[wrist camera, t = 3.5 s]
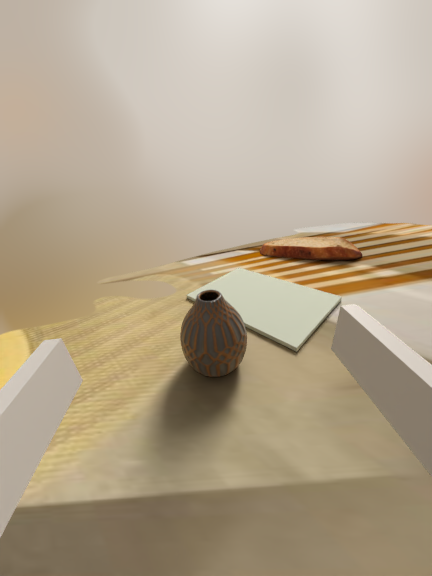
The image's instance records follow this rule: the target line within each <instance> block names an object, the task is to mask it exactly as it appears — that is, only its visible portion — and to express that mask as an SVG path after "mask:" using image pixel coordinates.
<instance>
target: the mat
mask: <svg viewBox="0 0 432 576" xmlns="http://www.w3.org/2000/svg"><path fill="white" fill-rule="evenodd" d="M205 290H217V291H219V292H220V293H221V294H222V296H223V297H224V299H225V300H226V301H227V302H228V303H229V304H230V305H232V306H233V307H234V308H235V309H236V310H237V311H238V313H239V314H240V316H241V317H242V320H243V322H244V325H245V327H247V328H249V329H251V330H253V331H255V332H257V333H259V334H261V335H263V336H265V337H267V338H269V339H272V340H274V341H276V342H278V343H280V344H282V345H284V346H286V347H288V348H290V349H292V350H294V351H296V352H297V351H298V350H299V348H300V347H301V346H302V345H303V344H304V343H305V341H306V340H307V339H308V338H309V337H310V336H311V334H312V333H313V332H314V331H315V330H316V329H317V328H318V326H319V325H320V324H321V323H322V322H323V321H324V319H325V318H326V317H327V316H328V315H329V314H330V312H331V311H332V310H333V309H334V308H335V307H336V305H337V304H338V303H339V302H340V301H341V298H342V297H340V296H337V295H333V294H330V293H326V292H323V291H319V290H316V289H312V288H309V287H305V286H302V285H298V284H295V283H291V282H288V281H284V280H281V279H277V278H273V277H270V276H266V275H263V274H259V273H256V272H252V271H249V270H245V269H242V268H237V269H235V270H233V271H231V272H230V273H228V274H226V275H224V276H222V277H220V278H218V279H216V280H214V281H212V282H210V283H209V284H207V285H205V286H203V287H201V288H199V289H197V290H195V291H193V292H191V293H189V294H187V298H188V299H190V300H192V301H194V302H195V300H196V297H197V295H198V294H199V293H200V292H202V291H205Z"/></svg>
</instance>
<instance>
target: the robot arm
mask: <svg viewBox="0 0 432 576" xmlns="http://www.w3.org/2000/svg"><path fill="white" fill-rule="evenodd" d="M331 349H332V350H333V352H334V353H335V354H336V356H337V357H338V358H339V359H340V361H341V362H342V363H343V364H344V366H345V367H346V368H347V370H348V371H349V372H350V373H351V375H352V376H353V377H354V378H355V380H356V381H357V382H358V384H359V385H360V386H361V387H362V389H363V390H364V391H365V392H366V394H367V395H368V396H369V398H370V399H371V400H372V401H373V403H374V404H375V405H376V406H377V408H378V409H379V410H380V412H381V413H382V414H383V415H384V417H385V418H386V419H387V420H388V422H389V423H390V424H391V426H392V427H393V428H394V429H395V431H396V432H397V433H398V434H399V436H400V437H401V438H402V440H403V441H404V442H405V443H406V445H407V446H408V447H409V448H410V450H411V451H412V452H413V453H414V455H415V456H416V457H417V459H418V460H419V461H420V462H421V464H422V465H423V466H424V467H425V469H426V470H427V471H428V473H429V474H430V475H431V476H432V365H431V364H430V363H429V362H427V361H426V360H425V359H424V358H423V357H421V356H420V355H419V354H418V353H416V352H415V351H414V350H413V349H411V348H410V347H409V346H408V345H406V344H405V343H404V342H403V341H401V340H400V339H399V338H398V337H396V336H395V335H394V334H393V333H391V332H390V331H389V330H388V329H387V328H385V327H384V326H383V325H382V324H380V323H379V322H378V321H377V320H375V319H374V318H373V317H372V316H370V315H369V314H368V313H367V312H365V311H364V310H363V309H362V308H360V307H359V306H358V305H357V304H352V305H344V306H341V307H340V312H339V317H338V321H337V326H336V330H335V335H334V339H333V344H332V348H331ZM82 381H83V380H82V378H81V376H80V374H79V372H78V370H77V368H76V366H75V364H74V362H73V360H72V358H71V356H70V354H69V352H68V350H67V348H66V346H65V345H64V343H63V341H62V339H52V340H44V341H43V342H42V343H41V344H40V346H39V347H38V348H37V349H36V350H35V351H34V352H33V353H32V355H31V356H30V357H29V358H28V359H27V360H26V361H25V363H24V364H23V365H22V366H21V367H20V368H19V369H18V371H17V372H16V373H15V374H14V375H13V376H12V377H11V379H10V380H9V381H8V382H7V383H6V384H5V385H4V386H3V388H2V389H1V390H0V537H1V535H2V533H3V531H4V529H5V527H6V525H7V524H8V522H9V520H10V518H11V516H12V514H13V512H14V510H15V508H16V506H17V505H18V503H19V501H20V499H21V497H22V495H23V493H24V491H25V489H26V487H27V486H28V484H29V482H30V480H31V478H32V476H33V474H34V472H35V470H36V468H37V466H38V465H39V463H40V461H41V459H42V457H43V455H44V453H45V451H46V449H47V447H48V446H49V444H50V442H51V440H52V438H53V436H54V434H55V432H56V430H57V428H58V427H59V425H60V423H61V421H62V419H63V417H64V415H65V413H66V411H67V409H68V407H69V406H70V404H71V402H72V400H73V398H74V396H75V394H76V392H77V390H78V388H79V387H80V385H81V383H82Z"/></svg>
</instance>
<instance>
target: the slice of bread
mask: <svg viewBox="0 0 432 576" xmlns="http://www.w3.org/2000/svg"><path fill="white" fill-rule="evenodd" d="M260 253H261V254H263V255H269V256H275V257H284V258H297V259H310V260H351V259H357V258H360V257H362V253H361V252H360V251H359V250H358V249H357V248H356V247H355V246H354V245H353V244H352V243H351V242H349V241H347V240H346V239H344V238H341V237H303V238H297V239H285V240H278V241H272V242H268V243H265V244H264V245H263V246H262V248H261V250H260Z"/></svg>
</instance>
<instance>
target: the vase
mask: <svg viewBox="0 0 432 576" xmlns="http://www.w3.org/2000/svg"><path fill="white" fill-rule="evenodd" d="M246 345H247V333H246V328H245V325H244V322H243V320H242V317H241V316H240V314H239V313H238V311H237V310H236V309H235V308H234V307H233V306H232V305H230V304H229V303H228V302H227V301H226V300H225V299H224V297H223V296H222V294H221V293H220V292H219V291H217V290H205V291H202V292H200V293H199V294H198V295H197V297H196V300H195V303H194V305H193V306H192V307H191V309H190V310H189V311H188V313H187V314H186V316H185V318H184V320H183V323H182V327H181V346H182V350H183V353H184V356H185V358H186V360H187V361H188V363H189V364H190V365H191V367H192V368H193V369H194V370H196V371H197V372H199V373H200V374H203V375H205V376H209V377H219V376H224V375H226V374H228V373H230V372H232V371H233V370H234V369H236V368H237V367H238V365H239V364H240V363H241V361H242V359H243V357H244V354H245V351H246Z"/></svg>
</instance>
